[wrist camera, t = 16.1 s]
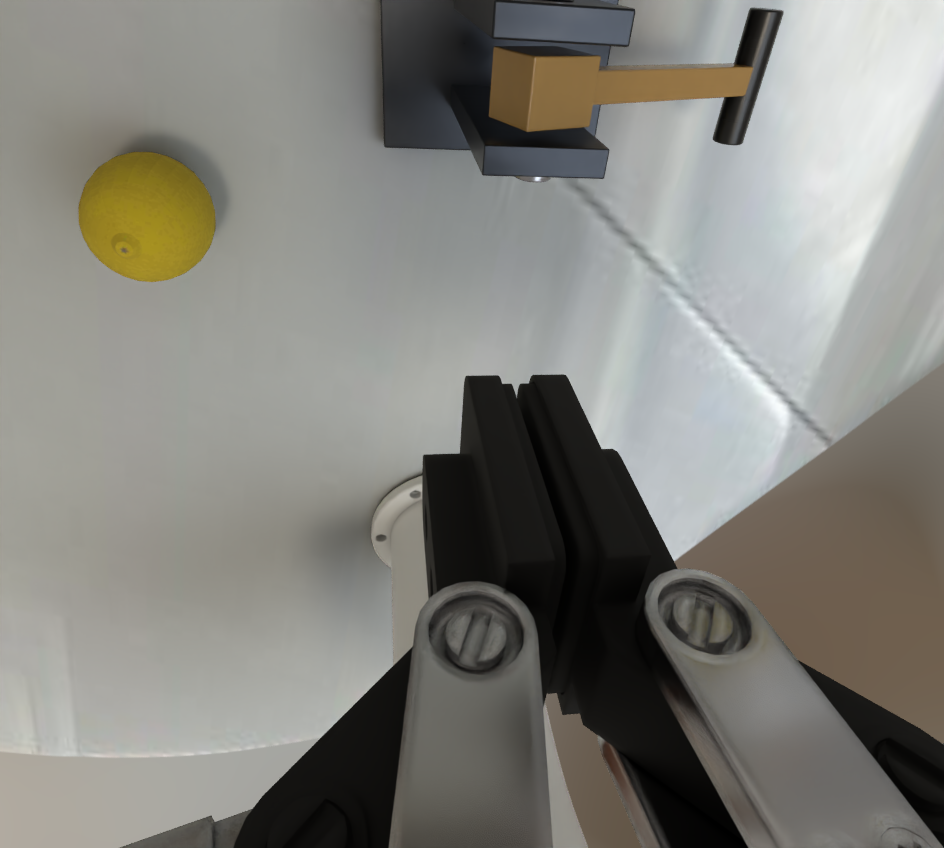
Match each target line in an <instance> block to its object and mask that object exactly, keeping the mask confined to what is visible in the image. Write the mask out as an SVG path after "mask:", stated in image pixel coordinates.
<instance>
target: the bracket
mask: <svg viewBox="0 0 944 848" xmlns="http://www.w3.org/2000/svg"><path fill="white" fill-rule="evenodd" d="M618 1H619V0H380V4H381V42H382V79H383V117H384V146H385V147H388V148H417V149H446V150H471V151H472V153H473V156H474V158H475V160H476V162H477V164H478V166H479V169H480V171H481V173H482V175H488V176H515V177H516V178H518V179H520V180H523V181H528V182H545V181H548V180H550V178H551V177H558V178H593V179H603V178H604V176H605V170H606V165H607V160H608V155H609V149H608V148H607V147H606V146H605V145H604V144H602V143H601V142H600V141H599V140H598V139H597V138H595V134H596V128H597V123H598V117H599V111H600V105H593V108H592V114H591V120H590V126H589V127H583V128H571V129H558V130H546V131H534V132H526V131H523V130H521V129H518V128H516V127H513V126H511V125H508V124H506V123H503V122H500V121H498V120H495V119H493V118H490V117H489V105H490V90H491V76H492V62H493V48H494V47H495V46H559V47H564V48H568V49H573V50H577V51H582V52H586V53H590V54H595V55H599V56H601V60H600V66H607V65H608V59H609V53H610V48H611V46H619V47H627V46H629V42H630V37H631V32H632V26H633V21H634V16H635V9H633V8H629V7H625V6H620V5H618Z"/></svg>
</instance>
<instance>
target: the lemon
mask: <svg viewBox="0 0 944 848" xmlns="http://www.w3.org/2000/svg"><path fill="white" fill-rule="evenodd" d="M79 225H80V228H81V231H82V235H83V238H84V240H85V241H86V243H87V245H88V247H89V248H90V250H91V251H92V252H93V254H94V255H95V256H96V257H97V258H98V259H99V260H100V261H101V262H102V263H103V264H105V265H106V266H107V267H108V268H110V269H111V270H113V271H115V272H117V273H118V274H120V275H122V276H125V277H128V278H131V279H134V280H138V281H147V282H156V281H164V280H169V279H172V278H174V277H177V276H179V275H182V274H184V273H186V272H187V271H189V270H190V269H191V268H192V267H194V266H195V265H196V264H197V263H198V262H199V261H201V259H202V258H203V257H204V255H205V253H206V252H207V250H208V249H209V247H210V245H211V243H212V239H213V235H214V232H215V210H214V206H213V203H212V199H211V196H210V195H209V193H208V191H207V189H206V187H205V186H204V184H203V183H202V182H201V180H200V179H199V178H198V177H197V176H196V175H195V174H194V172H192V171H191V170H190V169H188V168H187V167H186V166H185V165H183V164H182V163H180V162H178V161H176V160H174V159H172V158H170V157H168V156H165V155H161V154H157V153H153V152H131V153H127V154H124V155H120V156H116V157H114V158H112V159H111V160H109V161H108V162H106V163H104V164H103V165H101V166H100V167H99V168H98V169H97V170H96V171H95V172H94V173H93V175H92V176H91V177H90V179H89V180H88V181H87V183H86V184H85V187H84V189H83V193H82V196H81V199H80V202H79Z"/></svg>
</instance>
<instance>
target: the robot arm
mask: <svg viewBox="0 0 944 848" xmlns="http://www.w3.org/2000/svg"><path fill="white" fill-rule="evenodd" d="M371 540H372V544H373V547H374V550H375V552H376V553H377V555H378V557H379V558H380V559H381V560H382V561H383V562H384V563H385V564H386V565H387V566H388V567H390V568H391V572H392V619H393V667H392V668H391V669H390V670H389V671H388V672H387V673H386V674H385V675H384V676H383V677H382V678H381V679H380V680H379V681H378V682H377V683H376V684H375V685H374V686H373V687H372V688H371V689H370V690H369V691H368V692H367V693H366V694H365V695H364V696H363V697H362V698H361V699H360V700H359V701H358V702H357V703H356V704H355V705H354V706H353V707H352V708H351V709H350V710H349V711H348V712H347V713H345V714H344V715H343V716H342V717H341V718H340V719H339V720H338V721H337V722H336V723H335V724H334V725H333V726H332V727H331V728H330V729H329V730H328V731H327V732H326V733H325V734H324V735H323V736H322V737H321V738H320V739H319V740H318V742H316V743H315V744H314V746H312V748H311V749H310V750H308V752H306V753H305V754H304V755H303V756H302V757H301V758H300V759H299V760H298V761H297V763H295V764H294V765H293V766H292V767H291V769H289V771H288V772H286V774H284V776H283V777H282V778H280V779H279V781H277V783H275V784H274V785H273V786H272V787H271V788H270V789H269V790H268V791H267V792H266V793H265V794H264V795H263V796H262V798H261V799H260V800H259V802H258V803H257V804H256V805H255V807H254V808H253V809H251V810H248V811H245V812H242V813H240V814H237V815H234V816H231V817H228V818H226V819H223V820H220V821H217V822H214V820H213V818H212V816H209V817H206V818H203V819H200V820H197V821H194V822H191V823H188V824H186V825H183V826H180V827H177V828H174V829H172V830H169V831H166V832H163V833H160V834H157V835H154V836H152V837H149V838H146V839H143V840H140V841H137V842H134V843H131V844H129V845H126V846H123V847H120V848H588V846H587V843H586V841H585V838H584V836H583V833H582V830H581V827H580V824H579V822H578V819H577V816H576V813H575V811H574V808H573V804H572V801H571V798H570V795H569V792H568V789H567V786H566V783H565V779H564V776H563V772H562V769H561V765H560V761H559V758H558V754H557V750H556V746H555V742H554V738H553V734H552V730H551V726H550V721H549V717H548V713H547V708H546V704H545V698H546V694H547V693H548V694H550V693H557V695H558V699H559V703H560V707H561V711H562V714H563V715H566V714H578V713H580V715H581V719H582V722H583V725H584V726H586V727H587V728H589V729H590V730H591V731H593V732H594V733H595V734H597V735H598V742H599V746H600V750H601V753H602V756H603V759H604V761H605V763H606V766H607V768H608V770H609V773H610V775H611V777H612V780H613V782H614V784H615V787H616V789H617V791H618V793H619V796H620V798H621V800H622V803H623V805H624V807H625V809H626V812H627V814H628V817H629V819H630V821H631V823H632V826H633V828H634V830H635V833H636V835H637V837H638V839H639V842H640V844H641V846H642V848H944V743H943V744H942V743H940V742H939V741H937V740H936V739H934V738H933V737H931V736H930V735H929V734H927V733H926V732H924V731H923V730H921V729H920V728H918V727H916V726H914V725H913V724H911V723H909V722H907V721H906V720H904V719H902V718H900V717H898V716H897V715H895V714H893V713H891V712H889V711H888V710H886V709H884V708H882V707H881V706H879V705H877V704H875V703H873V702H872V701H870V700H868V699H866V698H864V697H863V696H861V695H859V694H857V693H856V692H854V691H852V690H850V689H848V688H847V687H845V686H843V685H841V684H839V683H838V682H836V681H834V680H832V679H831V678H829V677H827V676H825V675H824V674H822V673H820V672H818V671H816V670H815V669H813V668H811V667H809V666H807V665H806V664H804V663H802V662H800V661H799V660H797V659H796V658H795V656H794V655H793V654H792V652H791V651H790V650H789V648H788V647H787V646H786V645H785V643H784V642H783V641H782V640H781V638H780V637H779V636H778V635H777V633H776V632H775V630H774V629H773V628H772V627H771V625H770V624H769V623H768V622H767V620H766V619H765V618H764V616H763V615H762V614H761V613H760V611H759V610H758V609H757V607H756V606H755V605H754V604H753V602H752V601H750V599H748V597H747V596H746V595H745V594H744V593H743V592H742V591H741V590H740V589H738V588H737V587H735V586H734V585H732V584H731V583H729V582H728V581H726V580H725V579H723V578H720V577H718V576H715V575H713V574H711V573H708V572H704V571H699V570H694V569H677V567H676V565H675V563H674V561H673V559H672V557H671V555H670V553H669V551H668V549H667V547H666V545H665V543H664V541H663V539H662V537H661V535H660V533H659V531H658V529H657V527H656V525H655V523H654V521H653V519H652V517H651V516H650V514H649V512H648V510H647V508H646V506H645V504H644V502H643V500H642V498H641V496H640V494H639V492H638V490H637V488H636V486H635V484H634V482H633V480H632V478H631V476H630V474H629V472H628V470H627V468H626V466H625V464H624V462H623V460H622V458H621V457H620V455H619V454H618V452H617V451H615V450H613V449H601V447H600V445H599V443H598V441H597V439H596V436H595V434H594V432H593V430H592V428H591V426H590V424H589V422H588V420H587V417H586V415H585V413H584V411H583V409H582V407H581V405H580V403H579V401H578V398H577V396H576V394H575V392H574V390H573V388H572V386H571V384H570V382H569V379H568V378H567V376H566V375H532V376H531V379H530V381H529V384H520V385H519V388H518V394H517V398H516V395H515V392H514V389H513V386H512V384H502V382H501V379H500V377H499V376H466V377H465V382H464V395H463V412H462V428H461V444H460V454H433V455H424V456H423V475H422V476H419V477H417V478H414V479H412V480H409V481H407V482H405V483H404V484H402V485H400V486H399V487H397V488H395V489H394V490H393V491H392V492H390V493H389V494H388V495H387V496H386V497H385V498H384V499H383V500H382V502H381V503H380V504H379V506H378V507H377V509H376V511H375V514H374V516H373V519H372V526H371Z"/></svg>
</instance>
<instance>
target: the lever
mask: <svg viewBox="0 0 944 848" xmlns="http://www.w3.org/2000/svg"><path fill="white" fill-rule="evenodd" d="M782 16H783V11H782V10H776V9H766V8H750V10H749V13H748V16H747V20H746V23H745V27H744V30H743V34H742V37H741V41H740V44H739V48H738V51H737V55H736V58H735V62H734V63H727V64H679V65H632V66H600V60H601V56H599V55H595V54H590V53H586V52H582V51H577V50H573V49H568V48H564V47H559V46H495V47H494V48H493V62H492V76H491V90H490V105H489V117H490V118H493V119H495V120H498V121H500V122H503V123H506V124H508V125H511V126H513V127H516V128H518V129H521V130H523V131H526V132H534V131H546V130H558V129H571V128H583V127H589V126H590V120H591V114H592V108H593V105H602V104H619V103H636V102H653V101H670V100H687V99H703V98H720V97H724V100H723V104H722V107H721V111H720V114H719V118H718V121H717V125H716V128H715V132H714V135H713V140H714V141H715V142H718V143H721V144H726V145H740V144H742V143H743V140H744V137H745V134H746V130H747V127H748V124H749V121H750V118H751V115H752V111H753V108H754V105H755V102H756V99H757V96H758V92H759V89H760V86H761V83H762V80H763V77H764V73H765V70H766V67H767V64H768V61H769V58H770V54H771V51H772V48H773V45H774V42H775V39H776V35H777V32H778V29H779V26H780V23H781V20H782Z"/></svg>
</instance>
